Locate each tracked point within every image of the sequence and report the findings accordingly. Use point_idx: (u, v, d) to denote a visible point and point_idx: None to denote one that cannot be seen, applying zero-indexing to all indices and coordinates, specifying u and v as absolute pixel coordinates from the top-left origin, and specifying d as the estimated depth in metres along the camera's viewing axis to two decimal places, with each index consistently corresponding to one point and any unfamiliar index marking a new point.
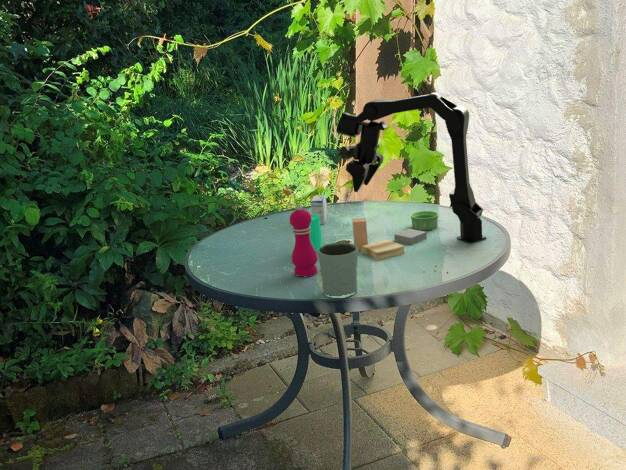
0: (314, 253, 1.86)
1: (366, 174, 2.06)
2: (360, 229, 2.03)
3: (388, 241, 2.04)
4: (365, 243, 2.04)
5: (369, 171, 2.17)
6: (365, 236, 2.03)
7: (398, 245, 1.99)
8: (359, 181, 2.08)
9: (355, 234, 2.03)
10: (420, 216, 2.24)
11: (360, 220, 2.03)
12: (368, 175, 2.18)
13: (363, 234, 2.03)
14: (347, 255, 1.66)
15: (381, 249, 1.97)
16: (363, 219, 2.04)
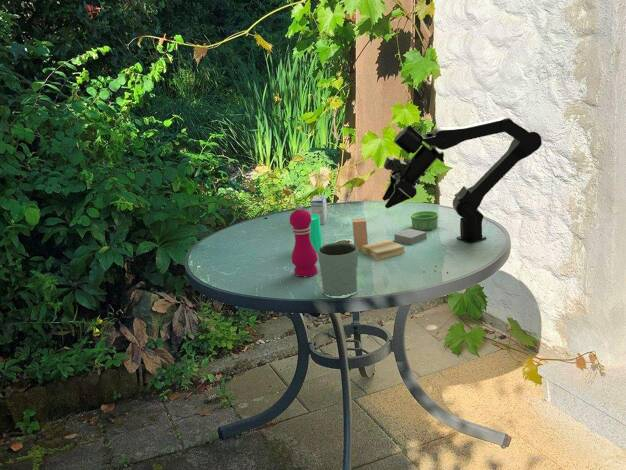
0: (314, 253, 1.86)
1: None
2: (360, 229, 2.03)
3: (388, 241, 2.04)
4: (365, 243, 2.04)
5: (394, 189, 2.06)
6: (365, 236, 2.03)
7: (398, 245, 1.99)
8: (397, 200, 1.96)
9: (355, 234, 2.03)
10: (420, 216, 2.24)
11: (360, 220, 2.03)
12: (390, 192, 2.06)
13: (363, 234, 2.03)
14: (347, 255, 1.66)
15: (381, 249, 1.97)
16: (363, 219, 2.04)
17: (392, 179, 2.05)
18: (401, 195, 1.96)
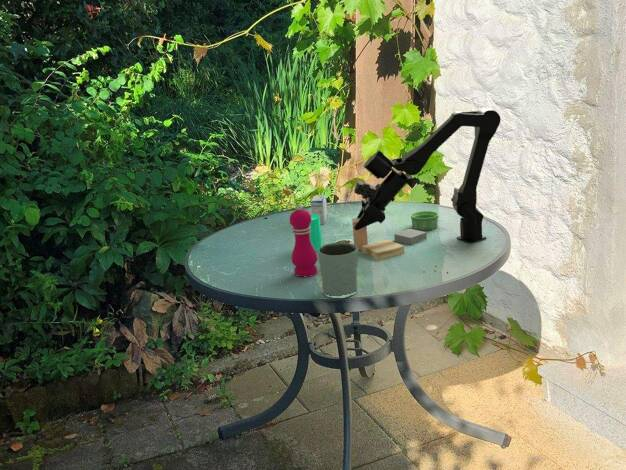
0: (314, 253, 1.86)
1: None
2: (360, 229, 2.03)
3: (388, 241, 2.04)
4: (365, 243, 2.04)
5: None
6: (365, 236, 2.03)
7: (398, 245, 1.99)
8: (366, 222, 2.01)
9: (355, 234, 2.03)
10: (420, 216, 2.24)
11: None
12: None
13: (363, 234, 2.03)
14: (347, 255, 1.66)
15: (381, 249, 1.97)
16: None
17: (363, 205, 2.05)
18: (370, 217, 2.00)
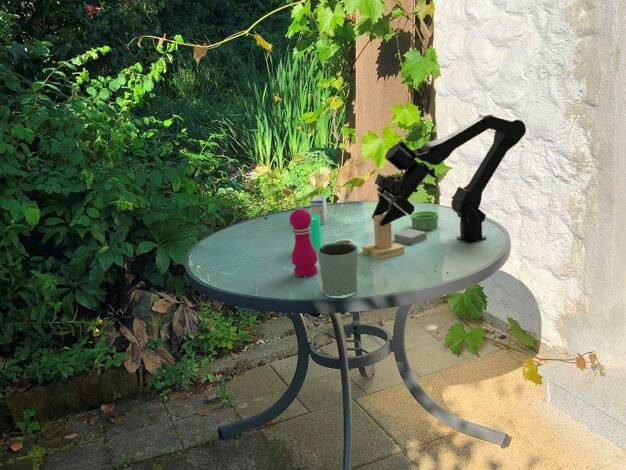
0: (314, 253, 1.86)
1: (405, 214, 1.93)
2: (385, 226, 1.96)
3: None
4: (389, 240, 1.98)
5: (383, 207, 2.01)
6: (389, 233, 1.97)
7: (398, 245, 1.99)
8: (393, 217, 1.93)
9: (379, 231, 1.97)
10: (420, 216, 2.24)
11: None
12: (380, 210, 2.01)
13: (387, 231, 1.97)
14: (347, 255, 1.66)
15: (382, 250, 1.97)
16: None
17: (381, 197, 2.01)
18: (396, 212, 1.93)
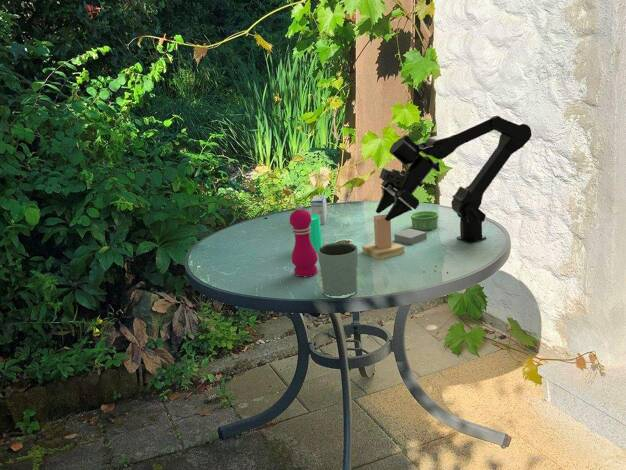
0: (314, 253, 1.86)
1: None
2: (385, 225, 1.96)
3: None
4: (389, 240, 1.98)
5: (387, 201, 2.02)
6: (389, 233, 1.97)
7: (398, 245, 1.99)
8: (398, 212, 1.92)
9: (379, 231, 1.97)
10: (420, 216, 2.24)
11: (383, 217, 1.97)
12: (384, 204, 2.02)
13: (387, 231, 1.97)
14: (347, 255, 1.66)
15: (382, 250, 1.97)
16: None
17: (385, 191, 2.01)
18: (402, 207, 1.92)
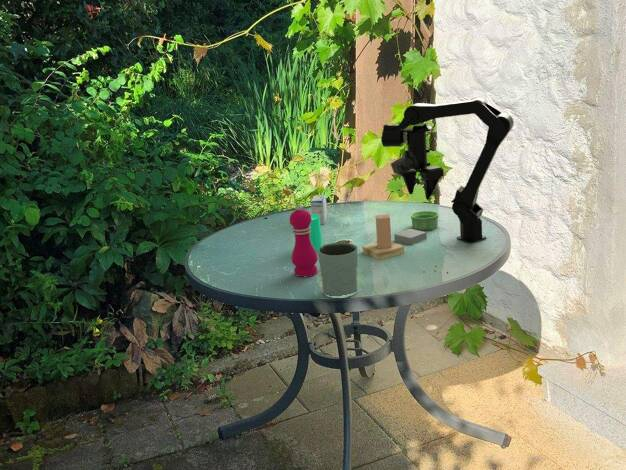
0: (314, 253, 1.86)
1: None
2: (384, 225, 1.97)
3: None
4: (388, 240, 1.98)
5: (410, 179, 2.11)
6: (389, 233, 1.97)
7: (398, 245, 1.99)
8: (432, 186, 2.02)
9: (378, 231, 1.97)
10: (420, 216, 2.24)
11: (384, 217, 1.97)
12: (410, 183, 2.11)
13: (387, 231, 1.97)
14: (347, 255, 1.66)
15: (382, 250, 1.97)
16: (387, 216, 1.98)
17: (403, 174, 2.10)
18: (431, 180, 2.02)
